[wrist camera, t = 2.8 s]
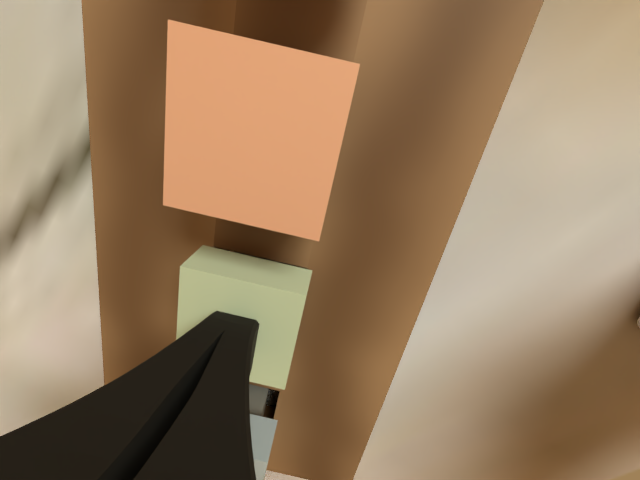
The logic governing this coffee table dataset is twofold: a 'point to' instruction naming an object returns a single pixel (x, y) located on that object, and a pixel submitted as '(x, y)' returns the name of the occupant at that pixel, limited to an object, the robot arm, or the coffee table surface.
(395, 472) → the coffee table surface
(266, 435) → the pale grey cube
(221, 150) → the terracotta key
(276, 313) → the pale green cube
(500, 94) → the brown wooden board
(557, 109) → the coffee table surface
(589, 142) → the coffee table surface
